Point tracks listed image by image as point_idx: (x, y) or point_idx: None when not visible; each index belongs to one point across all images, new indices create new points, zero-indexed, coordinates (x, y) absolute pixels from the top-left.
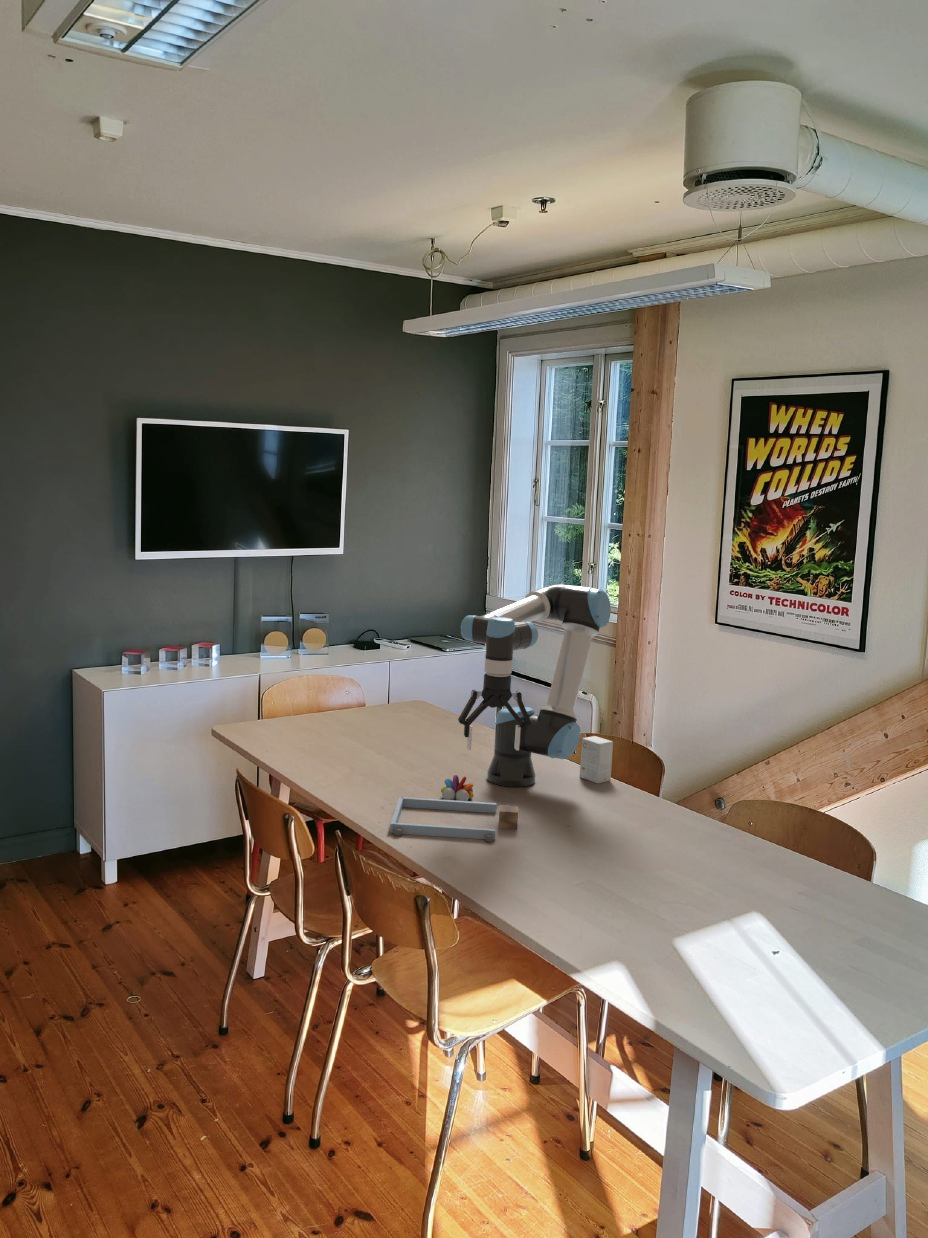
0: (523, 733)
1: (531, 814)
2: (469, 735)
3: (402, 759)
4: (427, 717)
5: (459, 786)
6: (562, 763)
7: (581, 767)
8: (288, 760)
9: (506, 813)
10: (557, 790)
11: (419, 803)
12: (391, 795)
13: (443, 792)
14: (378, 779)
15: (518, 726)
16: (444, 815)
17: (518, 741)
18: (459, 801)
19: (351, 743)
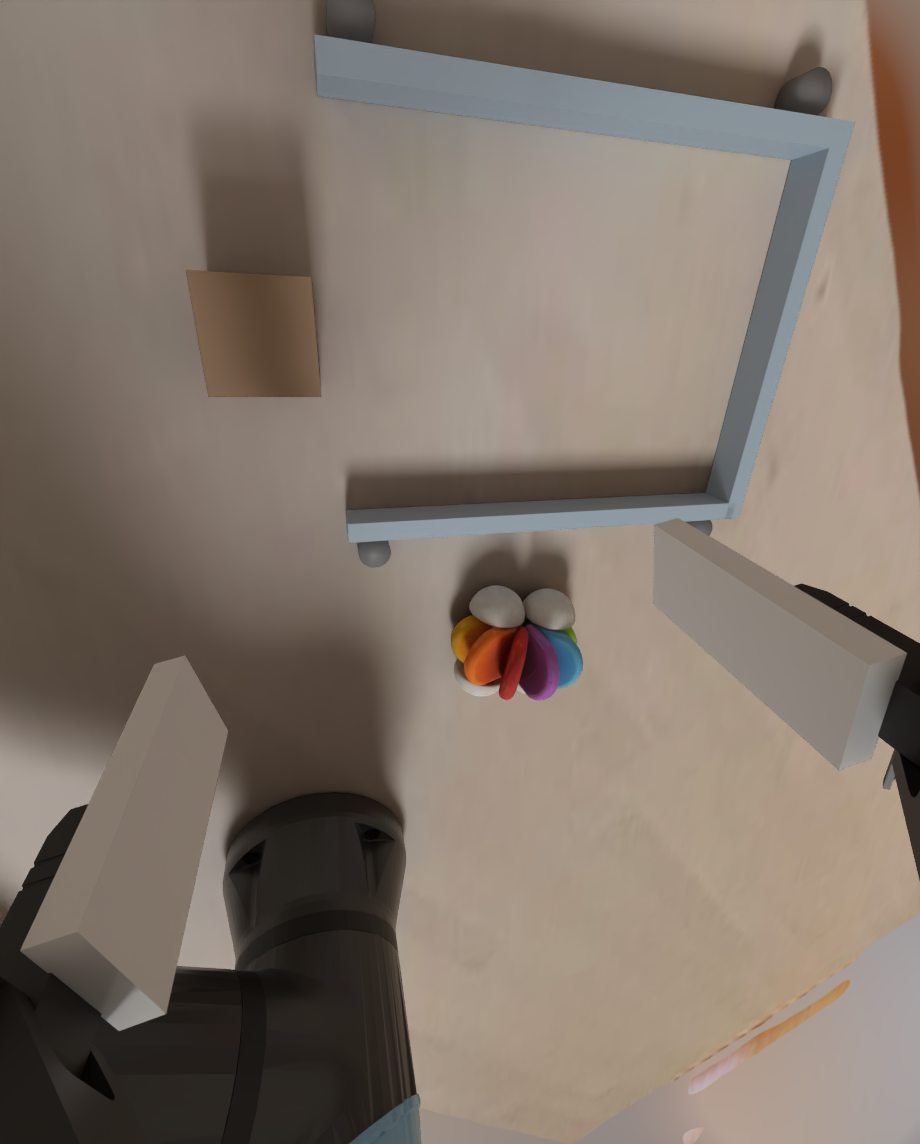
0: (30, 879)
1: (172, 534)
2: (791, 586)
3: (642, 872)
4: (555, 1097)
5: (522, 637)
6: None
7: None
8: None
9: (266, 274)
10: None
11: (661, 501)
12: None
13: (573, 607)
14: (730, 717)
15: (94, 987)
16: (563, 432)
17: (135, 734)
18: (515, 523)
19: (742, 911)
